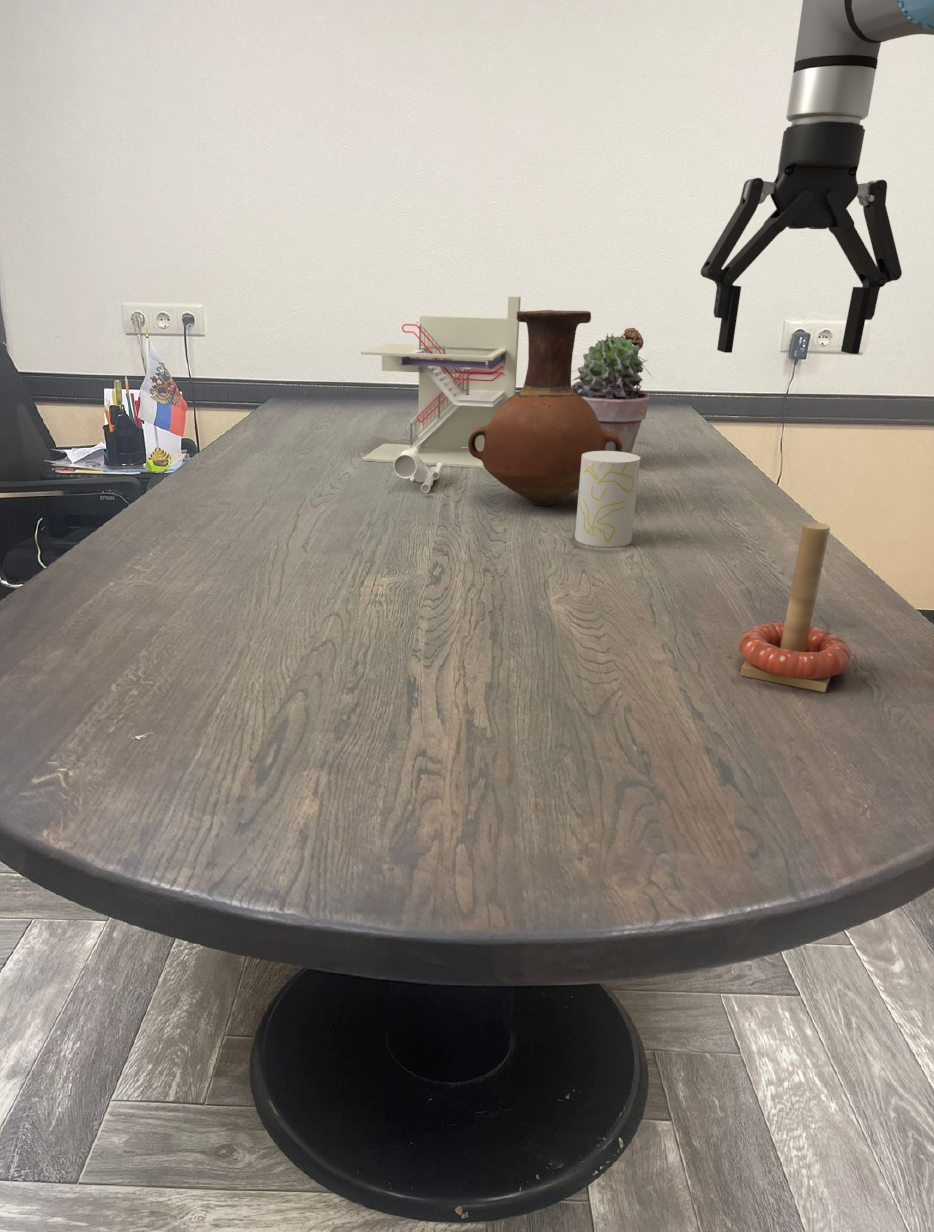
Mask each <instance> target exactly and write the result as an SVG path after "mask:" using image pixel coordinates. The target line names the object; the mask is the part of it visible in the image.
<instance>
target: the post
mask: <svg viewBox="0 0 934 1232" xmlns="http://www.w3.org/2000/svg"><path fill="white" fill-rule="evenodd" d="M830 529H831V526H830V525H829V524H826V523H822V522H815V521H813V522H812V521H809V522H804V523H803V524H802V529H801V535H800V539H799V544H798V549H797V550H798V551H797V555H796V561H795V566H794V571H793V576H792V582H791V587H790V593H789V598H788V603H787V609H786V614H785V619H784V623H785V624H784V630H783V635H782V641H781V646H780V648H782V649H787V650H792V651H798V652H807V651H806V646H807V641H808V636H809V631H810V626H811V625H812V620H813V615H814V610H815V605H816V600H817V595H818V591H819V586H820V580H821V576H822V570H823V565H824V560H825V556H826V555H825V554H826V550H827V545H828V540H829V536H830ZM811 627H812V626H811ZM740 676H741V677H746V678H751V679H757V680H761V681H766V682H770V683H775V684H776V683H777V684H781V685H786V686H791V687H796V688H800V689H806V690H810V691H815V692H820V693H826V691H827V688H828V687H829V684H830V681H831V678H832V676H831V677H828V678H824V679H795V678H790V677H785V676H780V675H775V674H771V673H769V672H767V671H764V670H762V669H760V668H757V667H755V666H753V665H751V664H750V663H749V662H748V661H747V660H746V659H745V660H744V662H743V664H742V666H741V669H740Z"/></svg>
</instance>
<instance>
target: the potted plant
mask: <svg viewBox="0 0 934 1232" xmlns="http://www.w3.org/2000/svg"><path fill="white" fill-rule="evenodd" d="M624 329H625V330H624V331H623V332H624V333H622V334H621V335H620V336H614V333H612V334H611V336H609V334H608V333H606V336H605V339H601V340H598V339H597V340H596V341H597V342H596V343H595V345H594V346H592V345H590V347H589V348H588V352H587V353H584V354H583V355H582V357H583V364H582V365H581V366H579V367H577V369H575V370H574V372H575V371H577V372H578V373H579V376H577V377H575V378H574V379H571V382H572V381H573V382H574V381H575V380H579V381H575V382H574V383H573V384H571V387H572V389H573V391H574V392H575V393H577V394H578V395H579V396H581V397H582V398H583V399H584V400H586V401H587V403H588V404H589V405H590V406H591V407H592V409H593V410H594V412H595V414H596V416H597V418H598V420H599V423H600V426H601V428H602V429H603V430H606V431H609V432H612V433H614V434H616V435H617V436H618V437H619V438H620V440H621V443H622V452H626V453H631V454H632V451H633V448H634V446H635V443H636V439H637V435H638V433H639V430H640V427H641V424H642V422H643V420H645V419H646V418H647V412H648V408H649V404H650V399H651V396H649V395H652V396H653V394H651V393H650V394H649V393H645V392H643V390H641V389H642V387H643V386H642V384H641V383H642V382H643V378H642V376H641V375H640V374H639V373H643V371H644V369H645V371H647V373H648V374H649V375H650V376H651V378H653V376H652V375H651V374H650V372H649V371H648V369H647V368H646V367H645V365H644V363H645V362H648V359H647V360H646V359H643V357H640V356H639V351H640V350H641V349H642V348H643V347H644V342H645V341H644V339H643V336H642V334H641V333H640V332H639V330H638V329H636V328H635V327H630V328H624ZM646 384H649V383H646ZM657 395H658V394H657ZM658 397H659V395H658ZM605 449H606V451H615V443H614V442H612V441H611V442H608V443H607V444H606V446H605Z"/></svg>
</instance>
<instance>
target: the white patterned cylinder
mask: <svg viewBox="0 0 934 1232" xmlns="http://www.w3.org/2000/svg"><path fill="white" fill-rule="evenodd" d="M640 464H641V456H639V455H637V454H634V453H632V452H631V453H626V452H618V451H592V452H586V453H583V454H582V458H581V470H580V482H579V489H578V496H577V507H576V508H577V509H576V521H575V533H574V539H575V540H576V541H577V542H579V543H580V544H584V545H587V546H590V547H591V546H592V547H599V548H617V547H618V548H619V547H625V546H627V545H629V544H631V543H632V538H633V537H632V536H633V529H634V520H635V511H636V501H637V493H638V484H639V483H638V482H639V474H640Z"/></svg>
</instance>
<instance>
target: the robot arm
mask: <svg viewBox="0 0 934 1232" xmlns="http://www.w3.org/2000/svg"><path fill="white" fill-rule="evenodd" d="M799 19H800V20H799V27H798V34H797V40H796V41H797V42H796V48H795V56H794V63H793V72H792V75H791V83H790V90H789V95H788V103H787V109H786V114H785V115H786V116H785V119H786V120H787V122H790V124H791V125H790V126H787V127H786V128H785V130H783V134H782V140H781V147H780V154H779V160H778V168H777V175H776V177H775V179H774V181H773V182H772V181H767V180H764V179H763V178H761V177H754V178H750V179H749V178H748V179H747V180H746V181H744V184H743V187H742V191H741V195H740V200H739V202H738V203H739V204H738V205H737V206H736V208H735V210H734V212H733V213H732V215H731V217H730V219H729V221H728V222H727V224H726V225H725V227H724V229H723V230H722V232H721V234H720V236H719V238H718V240H717V241H716V242H715V245H714V246H713V247H712V250H711V252H710V253H709V255H708V256H707V258H706V259H705V262H704V263H703V265H702V267H701V270H700V275H701V277H703V278H705V279H709V280H710V281H712V282H714V283H715V286H716V289H715V290H716V291H715V297H714V307H713V316H714V318H717V319H721V320H720V327H719V332H718V333H719V334H718V340H717V341H718V342H717V348H716V350H717V351H719V352H722V353H724V354H725V353H726V354H727V353H729V354H732V353H733V347H734V341H735V335H736V328H737V319H738V314H739V313H738V312H739V306H740V299H741V293H742V286H741V285H734V283H735V282H736V281H737V280H738V279H739V278H740V277H741V275H742V274H743V273H744V272H745V271H746V270H747V269H748V268H749V267H750V266H751V264H753V262H755V260H756V259H757V258H758V257H759V256H760V255H761V254H762V253H763V252H764V250H765V249H766V248H768V246H769V245H770V244H771V243H772V242H774V240H775V238H776V237H777V236H778V235H779V234H781V233H782V232H784V231H785V230H786V229H787V228H788V230H803V229H810V230H827V229H828V230H829V232H830V233H831V234H832V235H833V236H834V237H835V240H836V241H837V243H838V245H839V246H840V248H841V250H842V252H843V254H844V255H845V257H846V259H847V260H848V262H849V264H850V266H851V268H852V269H853V271H854V272H855V274H856V276H857V278H858V279H859V281H860V283H861V285H862V286H853V287H852V290H851V295H850V301H849V306H848V312H847V317H846V322H845V327H844V333H843V338H842V344H841V348H840V352H842V353H845V354H850V355H859V353H860V348H861V344H862V339H863V332H864V328H865V323H866V321H872V320H873V318H874V316H875V313H876V308H877V303H878V297H879V293H880V289H881V288H883V287H885V285H886V284H887V283H890V282H893V281H898V280H900V278H901V277H902V275H903V271H902V267H901V262H900V258H899V254H898V250H897V246H896V241H895V238H894V234H893V229H892V226H891V221H890V217H889V214H888V213H889V212H888V208H887V206H886V205H887V204H886V202H887V194H888V193H887V192H888V183H887V181H886V180H885V179H876V180H870V181H868V182H864V183H858V179H857V173H858V169H859V166H860V160H861V155H862V150H863V145H864V139H865V133H866V129H865V128H864V125H862V124H861V121H863V120H865V119H866V118H867V117H868V116H869V112H870V108H871V107H870V106H871V101H872V95H873V94H872V93H873V90H874V83H875V77H876V71H877V67H878V63H879V59H878V58H879V54H880V53H879V52H880V49H881V45H882V43H884V42H888V41H891V40H896V39H900V38H904V37H909V36H914V35H929V36H934V0H802V5H801V12H800V18H799ZM769 195H770V198H771V200H772V203H773V204H774V207H775V210H773V212H772V213H771V214H770V215H769V216H768V218H766V220H765V221H764V222H763V224H762V226H761V227H760V228H759V229H758V230H757V231H756V232H755V234H754V235H753V236H752V237H751V238H750V239H749V240H748V241H747V242H746V243H745V245H744V246H742V247H741V249H740V250H739V251H738V252H737V253H736V254H735V255H734V256H733V258H732V259H731V260H729V257H730V256H731V254H732V252H733V250H734V249H735V247H736V245H737V243H738V242H739V240H740V238H741V236H742V235H743V233H744V232H745V230H746V228H747V226H748V224H749V223H750V221H751V220H752V218H753V216H754V215H755V213H756V211H757V209H758V207H759V205H762V204H763V203H764V202H765V201H766V199H767V197H768V196H769ZM855 198H857V200H858V204H859V205H860V206H862V211H863V216H864V220H865V225H866V228H867V232H868V236H869V240H870V244H871V247H872V253H873V255H874V256H873V257H874V259H873V257H872V255H871V253H870V251H869V250H868V248H867V246H866V245H865V242H864V240H863V239H862V237H861V236H860V234H859V232H858V230H857V228H856V227H855V221H854V219H853V217H852V215H851V214H850V212H849V210H848V209H847V208H848V207H849V206H850V205H851V203H852V202H853V201H854V200H855ZM727 260H729V262H728V263H727V264H726V262H727ZM874 260H875V261H874ZM725 264H726V265H725ZM724 265H725V266H724Z"/></svg>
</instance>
